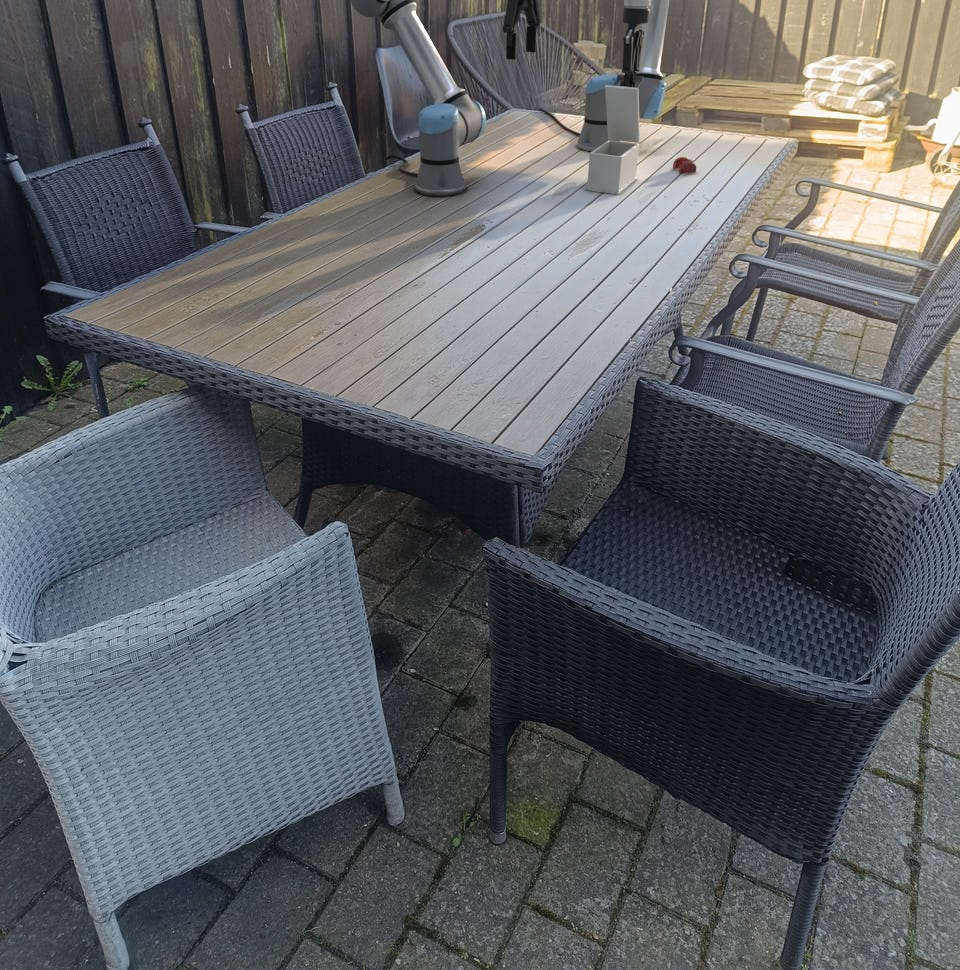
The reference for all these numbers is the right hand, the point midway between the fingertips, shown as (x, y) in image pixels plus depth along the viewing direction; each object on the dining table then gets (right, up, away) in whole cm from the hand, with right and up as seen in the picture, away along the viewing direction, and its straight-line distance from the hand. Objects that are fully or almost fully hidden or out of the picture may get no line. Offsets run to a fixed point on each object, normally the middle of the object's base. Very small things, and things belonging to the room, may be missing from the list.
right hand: (628, 95), depth 255 cm
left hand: (-33, +4, -16) cm, 37 cm away
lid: (-2, -6, 0) cm, 6 cm away
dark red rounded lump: (+22, -15, +20) cm, 33 cm away
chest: (-4, -24, +8) cm, 26 cm away
